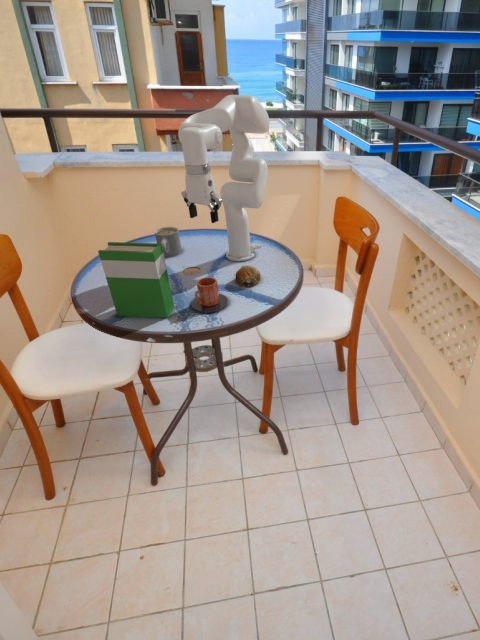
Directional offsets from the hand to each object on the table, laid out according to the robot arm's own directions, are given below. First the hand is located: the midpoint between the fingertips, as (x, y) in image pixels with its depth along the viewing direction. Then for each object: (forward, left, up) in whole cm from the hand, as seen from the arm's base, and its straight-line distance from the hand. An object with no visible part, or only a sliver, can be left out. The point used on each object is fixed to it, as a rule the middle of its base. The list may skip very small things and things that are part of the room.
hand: (204, 219), depth 146 cm
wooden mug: (+7, +14, -25) cm, 30 cm away
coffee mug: (+7, -38, -26) cm, 47 cm away
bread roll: (-13, +4, -26) cm, 30 cm away
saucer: (+6, +13, -26) cm, 30 cm away
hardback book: (+27, +7, -26) cm, 38 cm away
